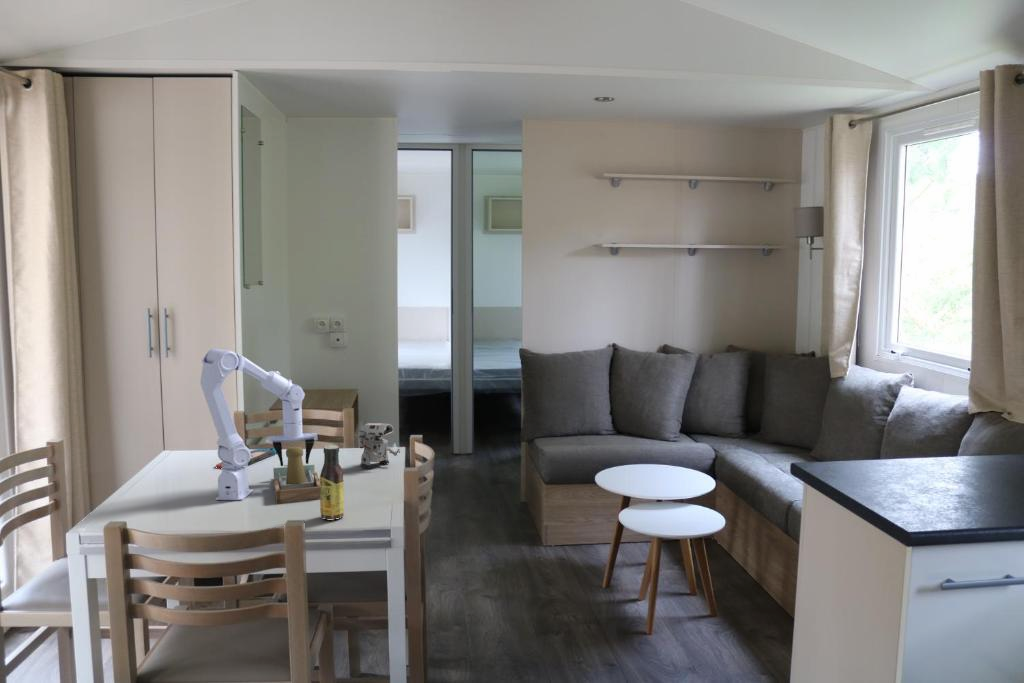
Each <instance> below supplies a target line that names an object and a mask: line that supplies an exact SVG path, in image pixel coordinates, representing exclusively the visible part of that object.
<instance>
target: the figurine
mask: <svg viewBox="0 0 1024 683" xmlns="http://www.w3.org/2000/svg"><path fill="white" fill-rule="evenodd" d="M360 431H361V432H364V433H366V434H367V436H369V437H364V436H363V437H361V438H360V443H359V449H363V453H362V454H361V456H360V457H361V458H360V461H361V462H360V467H361V468H362V467H364V468H363V469H366V468H367V469H366V470H371V469H372V465H371V463H379V462H381V463H385V464H387V463H388V464H390V460H389V454H392V455H393V456H395V457H396V456H398V453H399V454H400V453H401V451H400V448H398V449H397V450H396V451H395V450H393V449H392V448H391V447H390V446H388V439H386V438H383V437H385V436H387V435H390V434H392V433H394V427H393V425H392V424H391V423H380V422H379V423H378V422H377V423H376V422H375V423H372V422H367V423H365V424H363V425H362V427H360ZM364 438H365V439H364ZM388 451H389V454H388ZM381 463H380V464H381ZM385 464H384V465H385ZM388 464H387V465H388Z"/></svg>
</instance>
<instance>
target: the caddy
mask: <svg viewBox="0 0 1024 683" xmlns="http://www.w3.org/2000/svg"><path fill="white" fill-rule="evenodd" d="M313 480H314V487H309V488H299V489H289V490H280V484H279V478H278V477H274V476H273V482H274V483H273V484H274V485H273V486H274V492H275V499H276V500H275V501H276V504H286V503H285V502H287V503H292V502H291V501H297V502H300V501H299V500H306V501H308V500H307V499H316V498H320V477H319V475H318V472H315V473H314V475H313ZM316 500H317V499H316Z"/></svg>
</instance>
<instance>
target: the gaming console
mask: <svg viewBox="0 0 1024 683" xmlns="http://www.w3.org/2000/svg"><path fill="white" fill-rule="evenodd" d="M250 452H251V458H250V461H249V462H248V463H247V465H248V466H249V465H252V464H254V463H256V462H259V461H263V460H264V459H266V458H270V457H271V456H274V455H275V454H276V455H278V454H277V452H276V450H275V449H274V447H273V448H257V449H254V450H250ZM216 467H217V468H222V461H221V462H219V463H217V464H216V465H215V468H216ZM217 468H216V469H217Z"/></svg>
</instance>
